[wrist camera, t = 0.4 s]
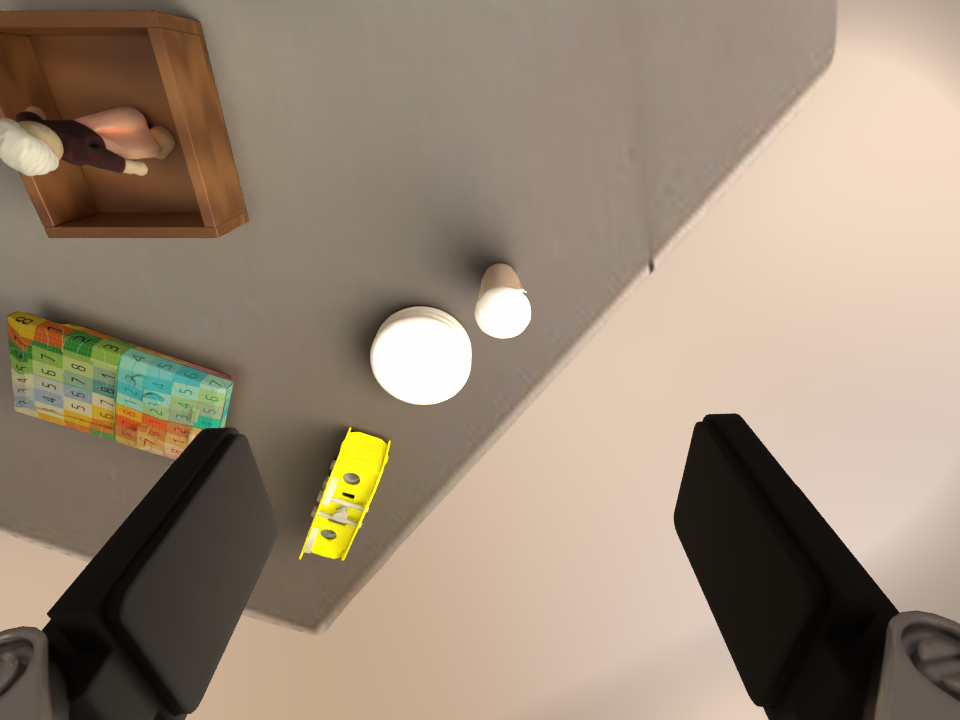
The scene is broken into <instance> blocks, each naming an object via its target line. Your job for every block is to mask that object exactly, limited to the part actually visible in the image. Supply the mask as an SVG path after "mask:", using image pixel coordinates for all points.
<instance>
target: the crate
mask: <svg viewBox="0 0 960 720" xmlns="http://www.w3.org/2000/svg"><path fill="white" fill-rule="evenodd" d="M32 106H33V107H37V108H40V109H41V110H42V111H43V112H44V113H45V116H46V120H75V119H78V118H80V117H84V116H87V115H92V114H96V113H99V112H102V111H106V110H110V109H114V108H118V107H125V106H130V107H133V108H136V109H137V110H138V111H139V112H141V113H142V114H143V115H144V117H145V119H146V121H147V125H148V128H149V129H151V128H152V127H154V126H157V125H158V126H163V127H165V128H166V129H168V130H169V131H170V132H171V133H172V134H173V136H174V137H175V141H176V145H175V147H174V149H173V150H172V151H171V152H170V153H169V154H168V156H167V157H166V158H164V159H162V160H160V159H157V158H154V157H151V158H141V159H131V160H133V161H141V162H143V163H145V164H146V166H147V168H148V172H147V173H146V174H145V175H143V176H140V175H136V174H134V173H133V174H128V173H117V172H113V171H109V170H105V169H99V168H96V167H92V166H89V165H81V166H80V165H73V164H71V163H69V162H67V161H64V160H62V159H60V160H59V165H58V167H57V168H56V169H55V170H53V171H49V173H47V174H43V175H35V176H27V175H25V174H23V173H21V172H19V171H18V172H19V174H20V176H21V178H22V181H23V183H24V185H25V187H26V189H27V191H28V194H29V196H30V198H31V200H32V202H33V204H34V207H35V209H36V211H37V213H38V215H39V217H40V220H41V222H42V224H43V226H45V227H44V228H45V230H46V233H47V235H48V237H49V238H219V237H221V236H223V235H224V234H226V233H228V232H230V231H232V230H234V229H235V228H237V227H239V226H241V225H243V224H244V223H246V222H248V221H249V220H248V216H247V212H246V208H245V204H244V200H243V196H242V192H241V188H240V184H239V179H238V175H237V171H236V167H235V163H234V159H233V155H232V151H231V147H230V143H229V138H228V134H227V130H226V126H225V122H224V118H223V114H222V110H221V106H220V102H219V97H218V93H217V89H216V85H215V81H214V77H213V73H212V69H211V65H210V61H209V56H208V52H207V48H206V44H205V40H204V36H203V32H202V28H201V24H200V22H199V21H195V20H191V19H187V18H183V17H179V16H175V15H171V14H167V13H163V12H159V11H155V10H153V11H0V118H9V119H12V120H14V121H15V122H17V121H16V115H17V114H18V113H20V112H24V111H25V110H26V109H27V108H28V107H32Z"/></svg>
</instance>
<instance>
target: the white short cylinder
mask: <svg viewBox="0 0 960 720" xmlns="http://www.w3.org/2000/svg"><path fill="white" fill-rule="evenodd" d="M370 362H371V368H372V371H373V374H374V376H375V378H376V380H377V381H378V383H379V384H380V385H381V386H382V387H383V389H384V390H386V391H387V392H388V393H389V394H391V395H392V396H394V397H395V398H397V399H399V400H402V401H404V402H408V403H411V404H418V405H428V404H435V403H439V402H442V401H445V400H447V399H449V398H451V397H452V396H454V395H455V394H456V393H457V392H458V391H459V390H460V389H461V388H462V387H463V386H464V384H465V382H466V381H467V379H468V376H469V373H470V368H471V344H470V340H469V338H468V335H467V333H466V331H465V330H464V328H463V327H462V326H461V324H460V323H459V322H458V321H457V320H456V319H455V318H453V317H452V316H451V315H449V314H447V313H446V312H444V311H441V310H439V309H436V308H432V307H425V306H417V307H410V308H406V309H403V310H400V311H398V312H396V313H394V314H393V315H391V316H390V317H389V318H387V319H386V320H385V321H384V322H383V324H382V325H381V326H380V328H379V330H378V332H377V335H376V337H375V339H374V341H373V343H372V347H371V352H370Z"/></svg>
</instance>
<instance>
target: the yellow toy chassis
mask: <svg viewBox="0 0 960 720" xmlns="http://www.w3.org/2000/svg"><path fill="white" fill-rule="evenodd" d="M350 431H351V427H350V428H349V430H348V433H347V435H346V438H345V440H344V441H343V442H342V444H341V447H340V453H339V455H338V458H337V460H336V461H335V460H333V461H332V463H331V466H330V470H332V473H331V476H328V475H327V477H326V479H325V480H324V483H323V485H322V488H321V489H324V490H325V491H322V490H320V493H319V495H318V498H317V502H320V501H321V502H320V504H319V507H316V506H314V509H313V511H312V514H311V517H315V518H314V520H313V523H312V526H311V527H310V529H309V532H308V536H307V539H306V541H305V544H304V547H303V549H302V552H301V555H300V557H299V559H300V560H301V558H302V555H303V553H304V552H306V553H309V554H310V552H312V553H314V554H318V555H321V556H325V557H328V558H332V559H335V558H340V557H342V558H341V560H343V561H344V559H345V557H346V555H347V553H348V550H349V548H350V546H351V544H352V542H353V539H354V537H355V535H356V533H357V531H358V528H361V525H362V523H361V522H362V520H363V517H364V515H365V513H366V512H367V513H368V510H369V508H368V506H369V504H370V502H371V500H372V498H373V495H374V493H375V491H376V488H377V485H378V483H379V480H380V477H381V475H382V472H383V469H384V465H385V464H386V463H387V460H388V450H389V446H390V443H391V441H390V440H389V442H388V444H386V443H385V442H384V441H383V440H382V439H380V438H377V437H374V436H371V435H368V434H365V433H362V432H350ZM349 433H350V434H349ZM325 488H326V489H325ZM343 493H344V494H343ZM352 495H353V496H355V497H354V498H351V497H352ZM317 509H318V510H317Z"/></svg>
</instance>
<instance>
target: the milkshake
mask: <svg viewBox="0 0 960 720" xmlns="http://www.w3.org/2000/svg"><path fill="white" fill-rule="evenodd" d="M525 293H527V292H526V291H524V290H523V289H522V286H521V284H520V282H519V279H518V277H517V274H516V272H515V271H514V270H513V269H512V268H511V267H510V266H509V265H507V264H502V263H497V264H494V265H492V266H489V267H488V269H487V270H486V272H485V274H484V275H483V278H482V283H481V288H480V293H479V297H478V301H477V304H476V307H475V318H476V321H477V323H478V325H479V327H480V328H481V329H482V331H484V332H485V333H487V334H488V335H490V336H493V337H496V338H511V337H514V336H516V335H518V334H520V333H521V332H522V331H523V330H524V329H525V327H526V326H527V325H528V323H529V321H530V318H531V308H530V303H529V301H528V299H527V297H526V295H525Z"/></svg>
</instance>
